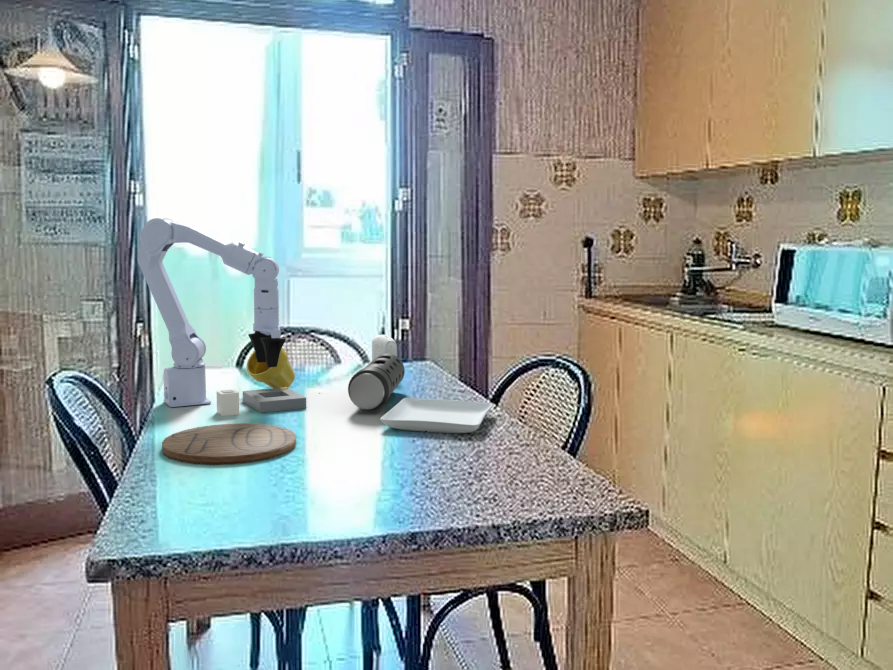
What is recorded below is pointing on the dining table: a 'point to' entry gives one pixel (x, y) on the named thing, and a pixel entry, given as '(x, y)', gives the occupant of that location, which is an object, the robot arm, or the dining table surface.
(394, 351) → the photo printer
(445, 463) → the dining table surface
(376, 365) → the muzzle brake
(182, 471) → the dining table surface
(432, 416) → the salad plate
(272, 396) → the socket plate
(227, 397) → the plug block
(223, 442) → the trivet
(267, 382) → the plant pot
